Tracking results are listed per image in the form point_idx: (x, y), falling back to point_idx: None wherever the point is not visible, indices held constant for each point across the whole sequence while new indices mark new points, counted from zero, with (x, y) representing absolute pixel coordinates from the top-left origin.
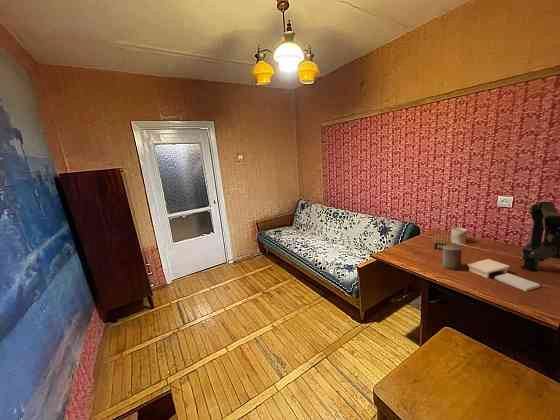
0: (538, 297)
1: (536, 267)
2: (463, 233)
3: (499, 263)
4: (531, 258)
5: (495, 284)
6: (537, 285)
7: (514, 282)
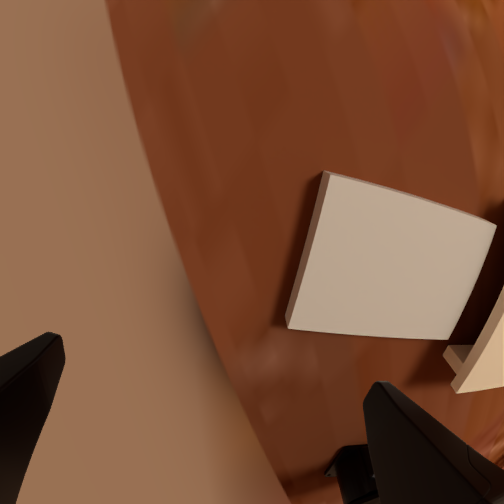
0: (234, 128)
1: (368, 393)
2: None
3: (491, 380)
4: (502, 473)
5: (468, 128)
6: (294, 303)
7: (409, 224)
